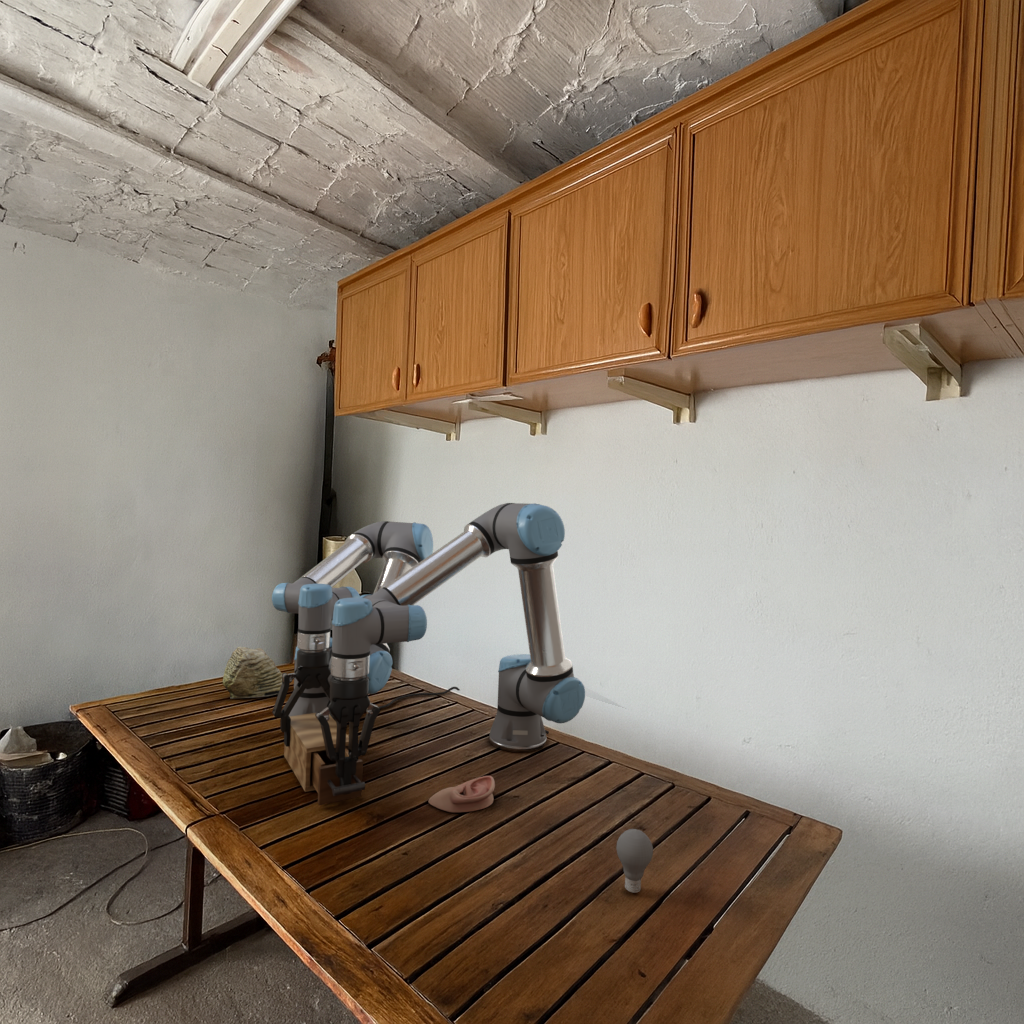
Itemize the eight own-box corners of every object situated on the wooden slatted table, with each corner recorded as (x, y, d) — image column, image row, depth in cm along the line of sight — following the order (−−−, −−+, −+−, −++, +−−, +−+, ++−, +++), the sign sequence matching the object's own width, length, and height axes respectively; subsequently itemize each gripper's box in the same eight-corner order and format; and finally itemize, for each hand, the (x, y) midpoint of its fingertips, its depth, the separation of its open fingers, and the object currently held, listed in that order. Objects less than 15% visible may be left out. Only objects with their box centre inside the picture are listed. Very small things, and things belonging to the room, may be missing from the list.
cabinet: (351, 782, 141) (352, 740, 141) (305, 792, 136) (306, 748, 135) (325, 748, 159) (326, 711, 159) (283, 755, 154) (285, 716, 153)
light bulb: (610, 879, 108) (613, 822, 108) (644, 879, 109) (647, 822, 109) (619, 902, 102) (622, 840, 102) (655, 901, 103) (658, 840, 103)
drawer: (370, 808, 128) (372, 771, 128) (326, 818, 123) (328, 780, 123) (334, 760, 150) (335, 729, 150) (296, 767, 145) (297, 735, 145)
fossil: (218, 695, 195) (220, 647, 195) (278, 685, 208) (279, 640, 207) (228, 703, 189) (230, 653, 188) (289, 692, 201) (290, 645, 201)
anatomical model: (423, 789, 130) (441, 766, 141) (423, 808, 130) (440, 784, 141) (486, 798, 127) (499, 774, 139) (485, 817, 128) (498, 792, 139)
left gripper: (266, 656, 143) (263, 754, 143) (364, 648, 155) (360, 738, 155) (260, 649, 149) (257, 743, 150) (355, 641, 161) (351, 728, 162)
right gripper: (322, 684, 121) (317, 806, 122) (387, 677, 128) (382, 792, 128) (312, 674, 127) (307, 789, 128) (375, 667, 134) (370, 777, 135)
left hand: (310, 740), depth 152 cm, fingers closed on cabinet, 10 cm apart
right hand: (345, 791), depth 128 cm, fingers closed
